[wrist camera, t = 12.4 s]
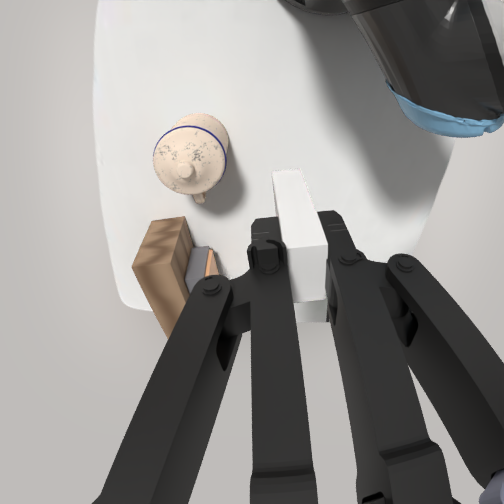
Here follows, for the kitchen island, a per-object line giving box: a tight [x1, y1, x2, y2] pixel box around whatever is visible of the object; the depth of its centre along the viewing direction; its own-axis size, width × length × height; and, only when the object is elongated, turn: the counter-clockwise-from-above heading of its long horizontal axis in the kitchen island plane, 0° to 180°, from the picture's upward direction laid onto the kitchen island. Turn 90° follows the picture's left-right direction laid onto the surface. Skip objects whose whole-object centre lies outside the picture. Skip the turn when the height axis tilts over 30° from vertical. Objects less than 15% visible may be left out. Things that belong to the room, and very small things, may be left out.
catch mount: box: [132, 216, 194, 339], centre depth 51 cm, size 6×18×12 cm, turn 7°
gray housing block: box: [185, 246, 219, 293], centre depth 51 cm, size 9×7×8 cm
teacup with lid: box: [153, 113, 228, 204], centre depth 38 cm, size 12×9×12 cm
